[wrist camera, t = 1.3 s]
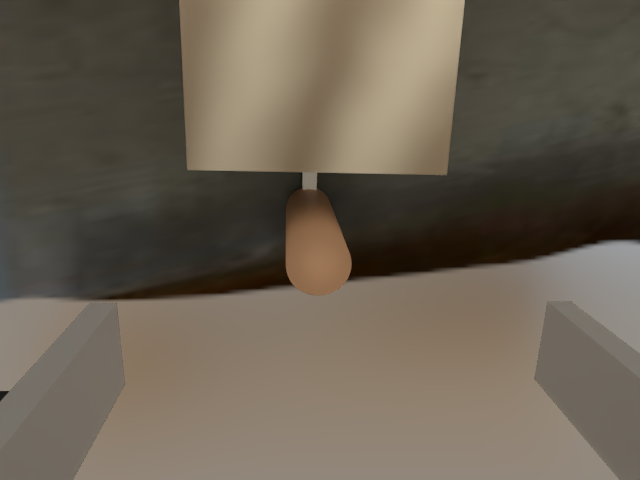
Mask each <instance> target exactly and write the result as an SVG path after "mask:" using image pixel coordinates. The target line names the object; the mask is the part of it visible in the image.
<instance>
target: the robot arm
mask: <svg viewBox="0 0 640 480" xmlns="http://www.w3.org/2000/svg"><path fill="white" fill-rule="evenodd" d="M117 311H118V310H117V303H90V304H89V305H88V306H87V307H86V308H85V309H84V310H83V311H82V312H81V314H80V315H79V316H78V317H77V318H76V319H75V320H74V321H73V322H72V323H71V325H70V326H69V327H68V328H67V329H66V330H65V331H64V332H63V333H62V334H61V335H60V337H59V338H58V339H57V340H56V341H55V342H54V343H53V344H52V345H51V346H50V348H49V349H48V350H47V351H46V352H45V353H44V354H43V355H42V356H41V357H40V358H39V360H38V361H37V362H36V363H35V364H34V365H33V366H32V367H31V368H30V370H29V371H28V372H27V373H26V374H25V375H24V376H23V377H22V378H21V379H20V380H19V382H18V383H17V384H16V385H15V386H14V387H13V388H12V389H11V390H10V391H0V480H73V479H74V477H75V475H76V473H77V472H78V470H79V468H80V466H81V464H82V462H83V461H84V459H85V457H86V455H87V453H88V451H89V449H90V448H91V446H92V444H93V442H94V441H95V439H96V437H97V435H98V433H99V431H100V429H101V428H102V426H103V424H104V422H105V420H106V419H107V417H108V414H109V413H110V411H111V409H112V408H113V405H114V404H115V402H116V400H117V398H118V396H119V395H120V393H121V391H122V389H123V387H124V386H125V380H124V370H123V360H122V350H121V340H120V330H119V322H118V312H117ZM535 380H536V381H537V383H538V384H539V385H540V386H541V387H542V388H543V390H544V391H545V392H546V393H547V395H548V396H549V397H550V398H551V399H552V400H553V402H554V403H555V404H556V405H557V406H558V408H559V409H560V410H561V411H562V412H563V413H564V415H565V416H566V417H567V418H568V419H569V421H570V422H571V423H572V424H573V425H574V426H575V428H576V429H577V430H578V431H579V432H580V434H581V435H582V436H583V437H584V438H585V440H586V441H587V442H588V443H589V444H590V445H591V447H593V449H594V450H595V451H596V452H597V454H598V455H599V456H600V457H601V458H602V460H603V461H604V462H605V463H606V464H607V466H608V467H609V468H610V469H611V470H612V472H613V473H614V474H615V475H616V476H617V477H618V478H619V480H640V353H638V352H637V351H636V350H634V349H633V348H632V347H630V346H629V345H628V344H627V343H625V342H624V341H622V340H621V339H620V338H618V337H617V336H616V335H614V334H613V333H612V332H611V331H609V330H608V329H607V328H605V327H604V326H603V325H601V324H600V323H599V322H597V321H596V320H595V319H594V318H592V317H591V316H589V315H588V314H587V313H586V312H584V311H583V310H581V309H580V308H579V307H578V306H576V305H575V304H574V303H572V302H571V301H561V302H560V301H551V302H547V306H546V312H545V319H544V325H543V331H542V336H541V342H540V348H539V354H538V360H537V366H536V372H535Z"/></svg>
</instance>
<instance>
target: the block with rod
mask: <svg viewBox="0 0 640 480" xmlns="http://www.w3.org/2000/svg"><path fill="white" fill-rule="evenodd" d="M286 271H287V275H288V277H289V279H290V281H291V282H292V284H293V285H294V286H295V287H296V288H297V289H299V290H300V291H302V292H305V293H307V294H310V295H326V294H329V293H332V292H334V291H335V290H337V289H339V288H340V287H341V286H342V285H343V284H344V283H345V282H346V280H347V279H348V277H349V274H350V271H351V256H350V253H349V250H348V248H347V245H346V243H345V240H344V237H343V235H342V232H341V230H340V227H339V224H338V222H337V219H336V216H335V214H334V211H333V209H332V206H331V203H330V201H329V199H328V197H327V195H326V194H325V193H324V192H323V191H321V190H320V189H317V172H302V188H300V189H298V190H296V191H295V192H293V193H292V194H291V196H290V197H289V199H288V201H287V204H286Z"/></svg>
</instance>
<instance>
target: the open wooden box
mask: <svg viewBox="0 0 640 480" xmlns="http://www.w3.org/2000/svg"><path fill="white" fill-rule="evenodd" d="M464 3H465V0H179V5H180V27H181V48H182V70H183V91H184V113H185V134H186V156H187V170H213V171H265V172H317V173H368V174H420V175H447V167H448V158H449V148H450V138H451V129H452V119H453V109H454V100H455V90H456V80H457V71H458V61H459V51H460V42H461V32H462V22H463V13H464Z"/></svg>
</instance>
